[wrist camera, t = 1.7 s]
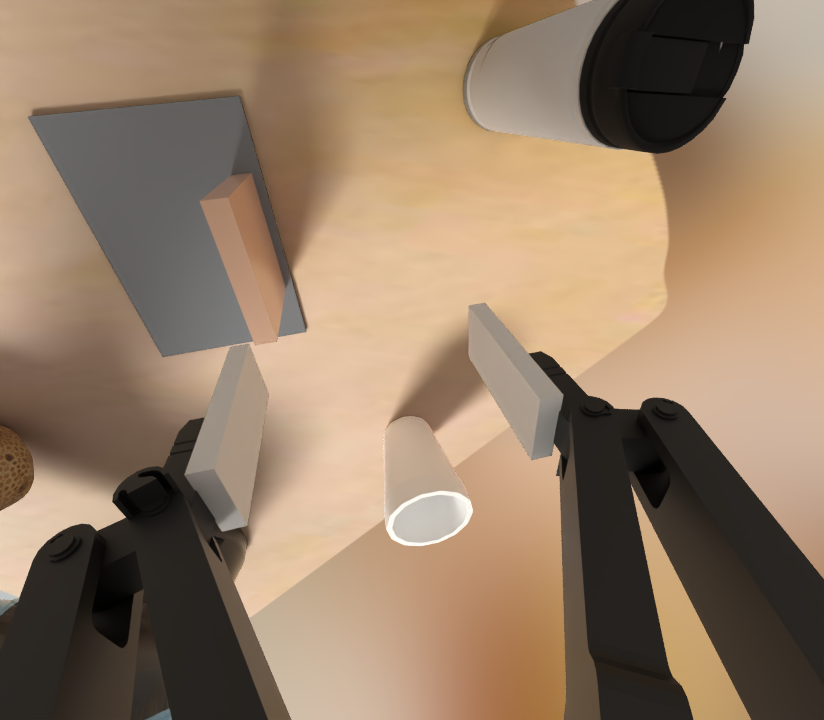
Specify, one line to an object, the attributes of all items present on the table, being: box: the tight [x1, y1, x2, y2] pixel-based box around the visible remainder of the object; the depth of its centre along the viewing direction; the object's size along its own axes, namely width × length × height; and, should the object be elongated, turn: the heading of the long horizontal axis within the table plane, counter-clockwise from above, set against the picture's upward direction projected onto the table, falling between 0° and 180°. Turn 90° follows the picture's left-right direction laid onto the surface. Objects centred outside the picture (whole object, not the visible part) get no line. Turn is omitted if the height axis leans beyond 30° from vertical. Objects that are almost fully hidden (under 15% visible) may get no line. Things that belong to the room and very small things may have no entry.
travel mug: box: [463, 0, 754, 154], centre depth 23 cm, size 6×7×20 cm
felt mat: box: [28, 96, 306, 357], centre depth 33 cm, size 14×20×1 cm
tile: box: [200, 173, 286, 345], centre depth 29 cm, size 2×10×10 cm, turn 5°
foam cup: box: [383, 416, 473, 546], centre depth 45 cm, size 10×9×13 cm
